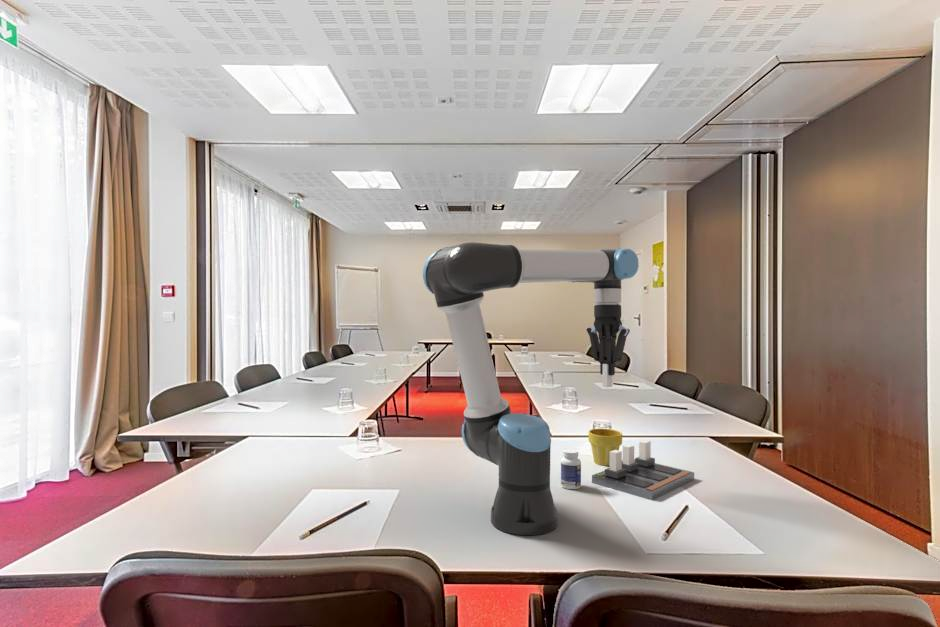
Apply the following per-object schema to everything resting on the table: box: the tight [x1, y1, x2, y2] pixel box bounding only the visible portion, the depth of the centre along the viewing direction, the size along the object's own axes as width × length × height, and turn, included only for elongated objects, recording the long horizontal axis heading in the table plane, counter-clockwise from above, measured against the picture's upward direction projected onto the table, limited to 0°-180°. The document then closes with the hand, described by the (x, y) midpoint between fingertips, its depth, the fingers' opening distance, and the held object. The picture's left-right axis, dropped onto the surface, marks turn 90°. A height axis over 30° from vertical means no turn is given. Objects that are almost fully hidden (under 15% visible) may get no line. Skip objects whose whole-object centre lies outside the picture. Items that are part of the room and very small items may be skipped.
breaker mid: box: [622, 444, 639, 472], centre depth 147 cm, size 4×4×7 cm
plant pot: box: [588, 427, 623, 467], centre depth 161 cm, size 10×10×10 cm
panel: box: [591, 459, 695, 501], centre depth 144 cm, size 24×18×2 cm
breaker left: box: [604, 449, 626, 479], centre depth 141 cm, size 4×4×7 cm
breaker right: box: [634, 440, 656, 467], centre depth 152 cm, size 4×4×7 cm
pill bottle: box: [560, 448, 582, 490], centre depth 139 cm, size 5×5×10 cm
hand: (607, 386), depth 146 cm, fingers closed
